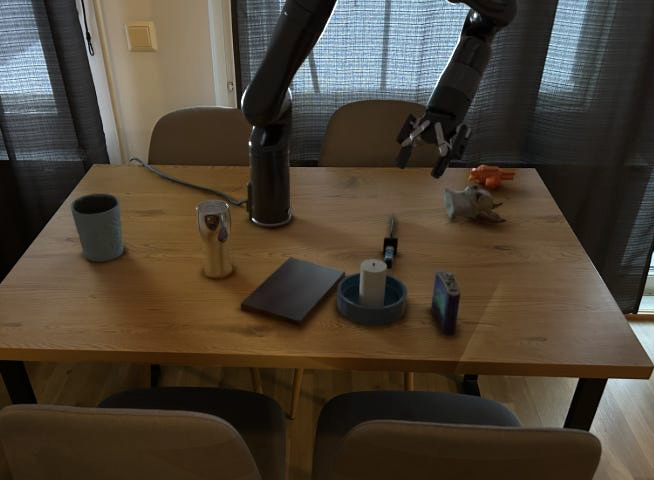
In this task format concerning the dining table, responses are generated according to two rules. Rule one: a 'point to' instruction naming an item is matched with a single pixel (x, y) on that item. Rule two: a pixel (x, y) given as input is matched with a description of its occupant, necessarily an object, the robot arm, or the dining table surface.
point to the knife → (390, 248)
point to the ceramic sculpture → (472, 204)
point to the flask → (445, 301)
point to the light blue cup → (98, 226)
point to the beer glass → (215, 237)
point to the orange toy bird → (490, 175)
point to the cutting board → (293, 291)
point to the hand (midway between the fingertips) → (416, 172)
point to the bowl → (368, 315)
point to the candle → (372, 283)
